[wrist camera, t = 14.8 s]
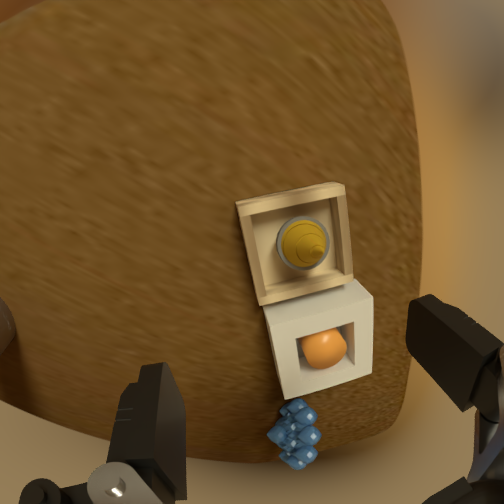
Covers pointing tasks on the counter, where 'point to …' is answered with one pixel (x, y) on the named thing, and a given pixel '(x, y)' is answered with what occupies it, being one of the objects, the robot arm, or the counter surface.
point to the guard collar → (316, 320)
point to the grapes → (296, 434)
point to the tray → (265, 232)
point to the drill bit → (302, 243)
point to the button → (323, 348)
